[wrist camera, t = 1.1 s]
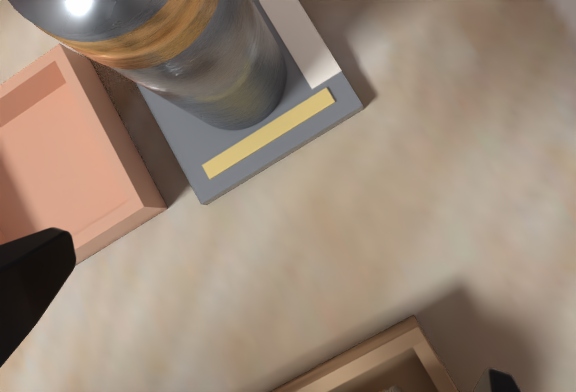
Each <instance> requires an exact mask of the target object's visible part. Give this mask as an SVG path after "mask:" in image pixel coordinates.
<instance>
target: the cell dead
mask: <svg viewBox="0 0 576 392" xmlns="http://www.w3.org/2000/svg"><path fill="white" fill-rule="evenodd" d="M8 1H9V2H10V3H11V5H12V6H13V7H14V8H15V9H16V10H17V11H18V12H19V13H20V14H21V15H22V16H23V17H24V18H26V19H27V20H29V21H30V22H32V23H33V24H34V25H36V26H37V27H38V28H39V29H41V30H42V31H44V32H45V33H47V34H48V35H50V36H52V37H54V38H55V39H57V40H59V41H61V42H63V43H64V44H66V45H68V46H70V47H71V48H73V49H75V50H77V51H78V52H80V53H82V54H84V55H85V56H87V57H89V58H91V59H92V60H94V61H96V62H98V63H101V64H103V65H106V66H108V67H110V68H111V69H113V70H115V71H117V72H118V73H120V74H122V75H124V76H125V77H127V78H129V79H131V80H132V81H134V82H136V83H137V84H139V85H141V86H143V87H144V88H146V89H148V90H150V91H151V92H153V93H155V94H157V95H158V96H160V97H162V98H164V99H165V100H167V101H169V102H170V103H172V104H174V105H176V106H177V107H179V108H181V109H183V110H184V111H186V112H188V113H190V114H191V115H193V116H195V117H196V118H198V119H200V120H202V121H203V122H205V123H207V124H209V125H211V126H213V127H215V128H218V129H222V130H231V131H235V130H243V129H247V128H250V127H252V126H255V125H256V124H258V123H260V122H262V121H263V120H264V119H266V118H267V117H268V116H269V115H270V114H271V113H272V112H273V111H274V110H275V108H276V107H277V105H278V104H279V102H280V100H281V98H282V96H283V94H284V91H285V87H286V82H287V67H286V62H285V59H284V56H283V53H282V51H281V49H280V47H279V46H278V44H277V42H276V41H275V39H274V37H273V35H272V34H271V32H270V30H269V28H268V27H267V25H266V23H265V21H264V20H263V18H262V16H261V14H260V13H259V11H258V9H257V7H256V6H255V4H254V2H253V0H8Z"/></svg>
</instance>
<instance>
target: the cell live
mask: <svg viewBox="0 0 576 392" xmlns="http://www.w3.org/2000/svg"><path fill="white" fill-rule="evenodd" d="M379 392H403V391H402V390H401V388H400V387H398V386H397V385H394V386H392V387H390V388H388V389H386V390H385V389H383V390H381V391H379Z"/></svg>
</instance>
